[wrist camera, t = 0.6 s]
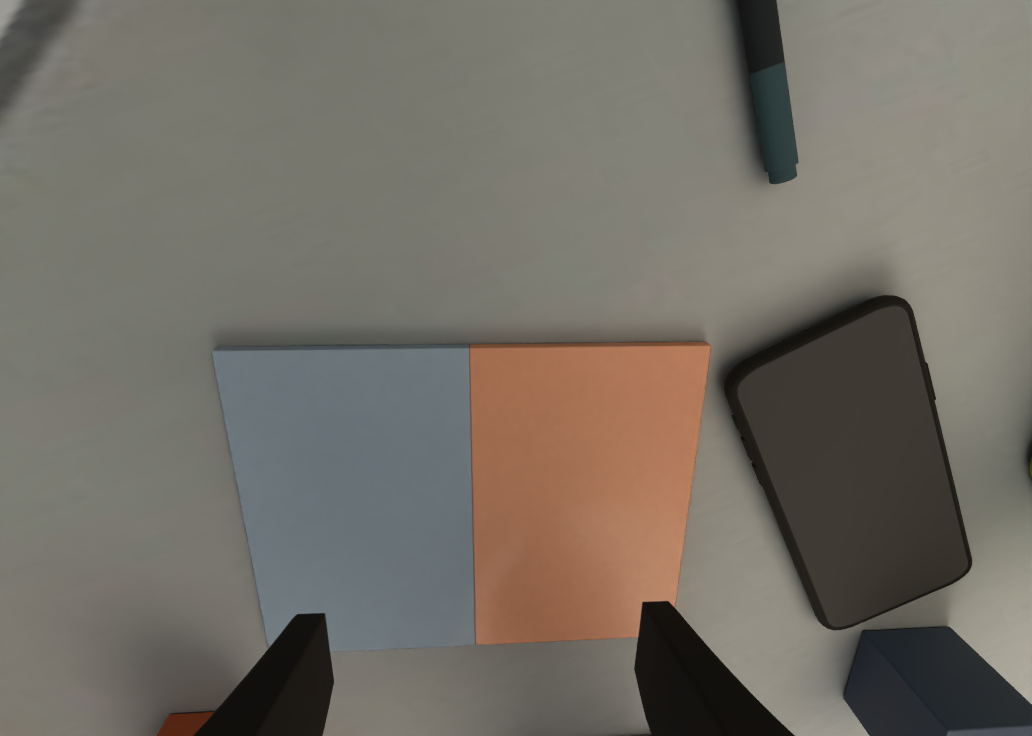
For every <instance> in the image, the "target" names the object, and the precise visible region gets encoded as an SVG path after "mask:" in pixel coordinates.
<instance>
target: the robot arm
mask: <svg viewBox="0 0 1032 736" xmlns="http://www.w3.org/2000/svg"><path fill="white" fill-rule="evenodd" d="M634 670H635V674H636V678H637V683H638V687H639V692H640V696H641V700H642V704H643V708H644V712H645V716H646V720H647V723H648V725H649V728H650V731H651V734H652V736H794V735H793V734H792V733H791V732H790V731H789V730H788V729H787V728H786V727H785V726H784V725H783V724H782V723H781V722H780V721H778V720H777V719H776V718H775V717H774V716H773V715H772V714H771V713H770V712H769V711H768V710H767V709H766V708H765V707H764V706H763V705H762V704H761V703H760V702H759V701H758V700H757V699H756V698H755V697H754V696H753V695H752V694H751V693H750V692H749V691H748V690H747V689H746V688H745V686H744V685H743V684H742V683H741V682H740V681H739V680H738V679H737V678H736V677H735V676H734V675H733V674H732V673H731V671H730V670H729V669H728V668H727V667H726V666H725V665H724V664H723V663H722V662H721V661H720V660H719V658H718V657H717V656H716V655H715V654H714V653H713V652H712V651H711V649H710V648H709V647H708V646H707V645H706V644H705V643H704V641H703V640H702V639H701V638H700V637H699V636H698V635H697V633H696V632H695V631H694V630H693V629H692V628H691V626H690V625H689V624H688V623H687V622H686V620H685V619H684V618H683V617H682V616H681V615H680V613H679V612H678V611H677V610H676V609H675V607H674V606H673V605H672V604H671V603H670V602H669V601H650V602H642V610H641V618H640V626H639V635H638V643H637V651H636V659H635V668H634ZM333 684H334V679H333V671H332V663H331V655H330V647H329V639H328V632H327V624H326V616H325V613H310V614H297V615H296V616H294V617H293V618H292V620H291V621H290V622H289V623H288V625H287V626H286V627H285V628H284V630H283V631H282V632H281V634H280V635H279V636H278V637H277V639H276V640H275V641H274V642H273V644H272V645H271V646H270V647H269V649H268V650H267V651H266V652H265V654H264V655H263V656H262V657H261V659H260V660H259V661H258V662H257V663H256V665H255V666H254V667H253V668H252V670H251V671H250V672H249V673H248V674H247V675H246V677H245V678H244V679H243V680H242V681H241V682H240V684H239V685H238V686H237V687H236V688H235V689H234V691H233V692H232V693H231V694H230V695H229V696H228V698H227V699H226V700H225V701H224V702H223V703H222V705H221V706H220V707H219V708H218V709H217V710H216V711H215V712H214V713H213V714H212V716H211V717H210V718H209V719H208V720H207V721H206V722H205V723H204V724H203V725H202V726H201V727H200V729H199V730H198V731H197V732H196V733H195V734H194V735H193V736H322V735H323V731H324V727H325V722H326V718H327V713H328V709H329V704H330V699H331V694H332V689H333Z"/></svg>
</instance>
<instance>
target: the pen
mask: <svg viewBox="0 0 1032 736" xmlns="http://www.w3.org/2000/svg"><path fill="white" fill-rule="evenodd" d="M738 6H739V12H740V18H741V25H742V31H743V37H744V44H745V50H746V56H747V63H748V69H749V75H750V81H751V88H752V94H753V100H754V107H755V113H756V119H757V126H758V132H759V138H760V144H761V151H762V157H763V163H764V170H765V172H768V176H769V182H770V183H771V184H779V183H783V182H787V181H790V180H792V179H794V178H795V177H796V176H797V171H796V164H797V163H798V155H797V148H796V141H795V133H794V126H793V119H792V112H791V104H790V97H789V90H788V82H787V75H786V68H785V60H784V53H783V46H782V38H781V31H780V24H779V16H778V9H777V2H776V0H738Z"/></svg>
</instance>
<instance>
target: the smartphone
mask: <svg viewBox="0 0 1032 736" xmlns="http://www.w3.org/2000/svg"><path fill="white" fill-rule="evenodd" d="M724 392H725V396H726V399H727V401H728V404H729V406H730V408H731V411H732V413H733V415H732V418H733V420H734V423H735V425H736V427H737V429H738V430H739V431H740V433H741V435H742V436H741V440H742V442H743V445H744V447H745V449H746V452H747V454H748V457H749V459H750V460H751V461H752V462H753V463H751V464H752V467H753V469H754V471H755V474H756V476H757V479H758V481H759V483H760V485H761V486H762V487H763V489H764V492H765V494H766V496H767V499H768V501H769V504H770V506H771V509H772V511H773V513H774V516H775V518H776V521H777V523H778V526H779V528H780V530H781V533H782V535H783V538H784V540H785V543H786V545H787V547H788V550H789V552H790V555H791V557H792V560H793V562H794V565H795V567H796V569H797V572H798V574H799V577H800V579H801V582H802V584H803V586H804V589H805V591H806V594H807V596H808V599H809V601H810V603H811V606H812V608H813V611H814V613H815V616H816V617H817V619H818V621H819V622H820V623H821V624H822V625H823V626H825V627H826V628H828V629H831V630H842V629H847V628H850V627H853V626H855V625H858V624H860V623H862V622H865V621H867V620H869V619H872V618H874V617H876V616H879V615H881V614H883V613H886V612H888V611H890V610H893V609H895V608H897V607H900V606H902V605H904V604H907V603H909V602H911V601H914V600H916V599H918V598H921V597H923V596H925V595H928V594H930V593H932V592H935V591H937V590H939V589H942V588H944V587H946V586H949V585H951V584H953V583H955V582H956V581H958V580H960V579H961V578H962V577H964V576H965V575H966V574H967V573H968V572H969V570H970V569H971V566H972V557H971V553H970V548H969V544H968V540H967V536H966V532H965V527H964V523H963V519H962V515H961V510H960V506H959V502H958V498H957V494H956V489H955V485H954V481H953V477H952V472H951V468H950V464H949V460H948V456H947V451H946V447H945V443H944V439H943V434H942V430H941V426H940V422H939V418H938V413H937V409H936V405H935V401H934V400H936V397H935V393H934V389H933V385H932V381H931V376H930V372H929V368H928V364H927V363H926V362H925V359H924V355H923V351H922V346H921V342H920V338H919V334H918V330H917V325H916V321H915V317H914V313H913V310H912V308H911V306H910V305H909V303H908V302H907V301H906V300H904V299H902V298H900V297H897V296H886V295H884V296H878V297H875V298H872V299H869V300H866V301H864V302H862V303H860V304H858V305H856V306H854V307H852V308H850V309H848V310H846V311H844V312H842V313H840V314H838V315H836V316H834V317H832V318H830V319H828V320H826V321H824V322H822V323H820V324H818V325H816V326H813V327H811V328H809V329H807V330H805V331H803V332H801V333H799V334H797V335H795V336H793V337H791V338H789V339H787V340H785V341H783V342H781V343H779V344H777V345H775V346H773V347H771V348H769V349H766V350H764V351H762V352H760V353H758V354H756V355H754V356H752V357H750V358H748V359H746V360H744V361H743V362H741V363H740V364H738V365H737V366H736V367H735V368H734V369H733V370H732V371H731V372H730V373H729V374H728V376H727V378H726V380H725V384H724Z"/></svg>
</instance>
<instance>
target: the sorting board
mask: <svg viewBox="0 0 1032 736" xmlns="http://www.w3.org/2000/svg"><path fill="white" fill-rule="evenodd" d="M710 351H711V345H710V344H708V343H707V342H641V343H546V344H470V345H469V344H444V345H349V346H254V347H217V348H215V349H214V350H212V351H211V353H212V358H213V363H214V368H215V373H216V379H217V384H218V389H219V394H220V399H221V404H222V410H223V415H224V420H225V425H226V430H227V436H228V441H229V446H230V451H231V456H232V462H233V467H234V472H235V477H236V482H237V488H238V493H239V498H240V503H241V508H242V513H243V519H244V524H245V529H246V534H247V539H248V545H249V550H250V555H251V560H252V565H253V571H254V576H255V581H256V586H257V591H258V597H259V602H260V607H261V612H262V617H263V622H264V628H265V633H266V638H267V643H268V648H269V647H270V646H271V645H272V644H273V642H274V641H275V640H276V639H277V637H278V636H279V635H280V634H281V632H282V631H283V630H284V628H285V627H286V626H287V625H288V623H289V622H290V621H291V620H292V618H293V617H294V616H296V615H297V614H310V613H325V616H326V624H327V632H328V639H329V647H330V652H343V651H364V650H384V649H405V648H426V647H447V646H468V645H475V644H476V645H486V644H507V643H528V642H549V641H570V640H591V639H611V638H632V637H638V635H639V626H640V618H641V610H642V602H650V601H669V602H670V603H671V604H672V605H673V606H674V607H675V603H676V596H677V589H678V582H679V575H680V567H681V560H682V553H683V546H684V539H685V531H686V524H687V517H688V510H689V503H690V495H691V488H692V481H693V474H694V467H695V459H696V452H697V445H698V438H699V431H700V423H701V416H702V409H703V402H704V395H705V387H706V380H707V373H708V366H709V359H710Z"/></svg>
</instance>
